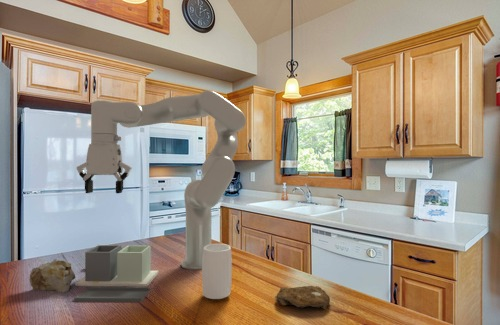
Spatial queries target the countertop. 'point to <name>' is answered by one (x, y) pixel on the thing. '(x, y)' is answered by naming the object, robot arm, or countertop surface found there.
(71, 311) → the countertop surface
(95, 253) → the grey double box
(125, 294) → the mat
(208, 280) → the cup
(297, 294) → the decorative rock
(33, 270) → the rock
